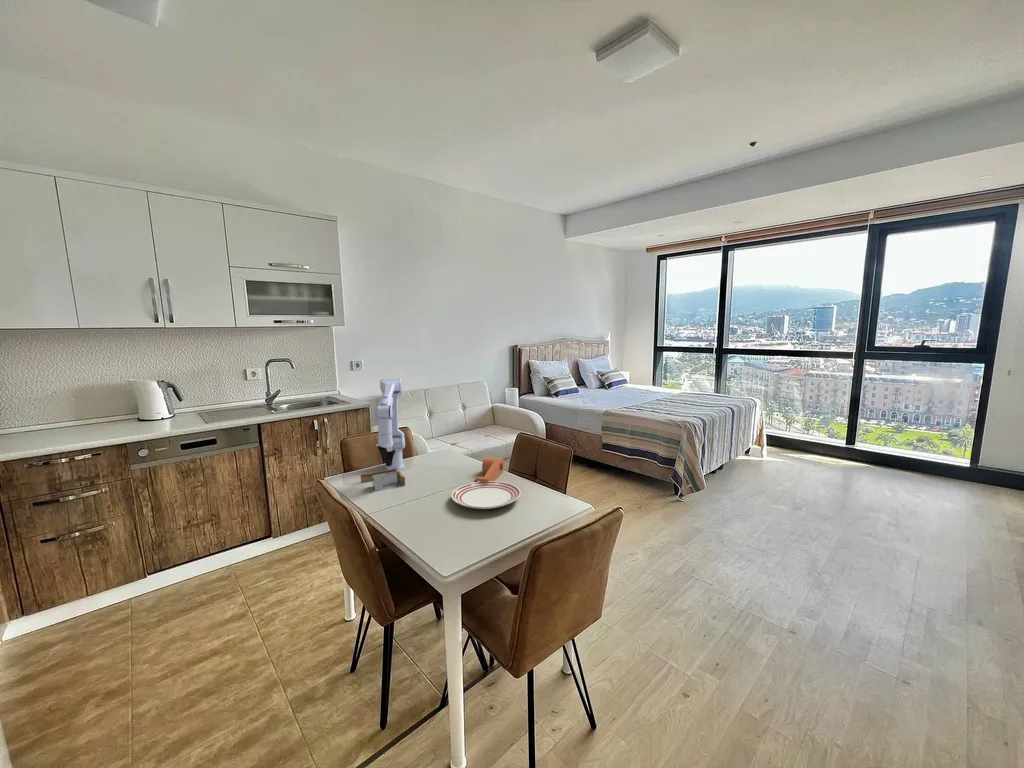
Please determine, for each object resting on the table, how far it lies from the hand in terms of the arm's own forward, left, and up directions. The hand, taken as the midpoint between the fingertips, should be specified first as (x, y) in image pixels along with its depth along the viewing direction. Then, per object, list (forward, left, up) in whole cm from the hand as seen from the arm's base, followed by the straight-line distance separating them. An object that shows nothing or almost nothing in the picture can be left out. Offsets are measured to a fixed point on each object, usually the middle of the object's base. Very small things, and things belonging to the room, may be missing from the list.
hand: (386, 463), depth 172 cm
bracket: (0, -1, -10) cm, 10 cm away
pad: (0, -2, -10) cm, 10 cm away
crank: (+16, +41, -10) cm, 45 cm away
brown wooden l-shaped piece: (-2, -2, -10) cm, 10 cm away
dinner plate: (+36, +30, -10) cm, 48 cm away
